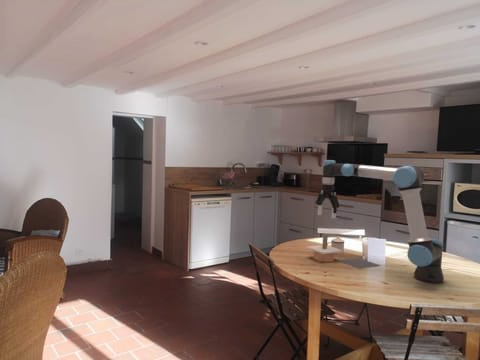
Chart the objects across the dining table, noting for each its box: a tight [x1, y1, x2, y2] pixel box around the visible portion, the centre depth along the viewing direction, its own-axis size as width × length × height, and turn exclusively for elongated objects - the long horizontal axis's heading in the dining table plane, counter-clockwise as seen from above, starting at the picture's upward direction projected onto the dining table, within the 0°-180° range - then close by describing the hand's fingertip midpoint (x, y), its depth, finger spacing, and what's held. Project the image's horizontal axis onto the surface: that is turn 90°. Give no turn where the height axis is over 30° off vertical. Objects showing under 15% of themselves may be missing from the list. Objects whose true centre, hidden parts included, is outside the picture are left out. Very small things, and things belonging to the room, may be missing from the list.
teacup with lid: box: [327, 236, 345, 255], centre depth 258 cm, size 12×9×12 cm
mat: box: [337, 257, 382, 270], centre depth 232 cm, size 19×19×1 cm
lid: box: [306, 233, 343, 254], centre depth 238 cm, size 16×16×10 cm
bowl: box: [313, 250, 336, 263], centre depth 238 cm, size 13×13×6 cm
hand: (326, 216), depth 237 cm, fingers open, 13 cm apart
